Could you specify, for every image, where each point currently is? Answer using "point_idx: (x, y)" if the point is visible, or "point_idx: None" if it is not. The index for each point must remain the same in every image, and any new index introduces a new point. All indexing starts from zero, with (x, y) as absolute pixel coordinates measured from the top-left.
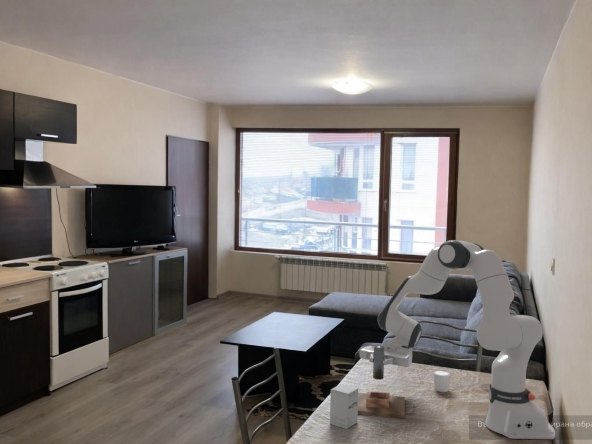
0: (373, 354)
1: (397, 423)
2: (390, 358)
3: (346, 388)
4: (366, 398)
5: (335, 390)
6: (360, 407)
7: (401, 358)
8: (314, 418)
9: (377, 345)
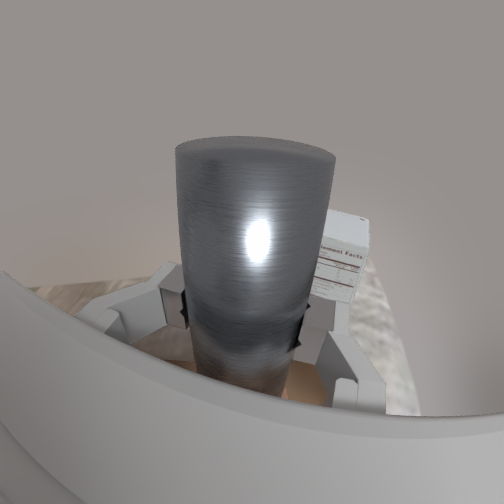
0: (350, 398)
1: (168, 333)
2: (111, 300)
3: (333, 222)
4: (285, 390)
5: (354, 216)
6: (300, 389)
7: (21, 284)
8: (390, 314)
9: (294, 160)
